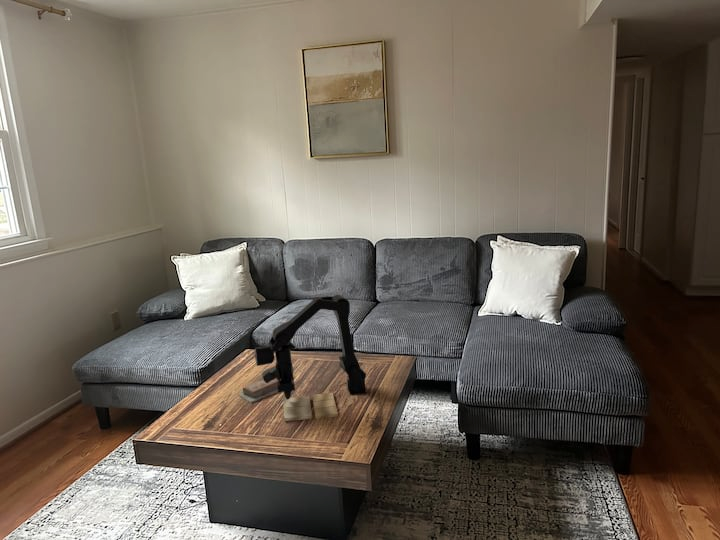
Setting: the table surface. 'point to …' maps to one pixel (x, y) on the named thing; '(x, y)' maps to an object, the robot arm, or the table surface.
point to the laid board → (324, 406)
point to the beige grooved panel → (297, 409)
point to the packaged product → (259, 390)
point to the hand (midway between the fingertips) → (287, 398)
